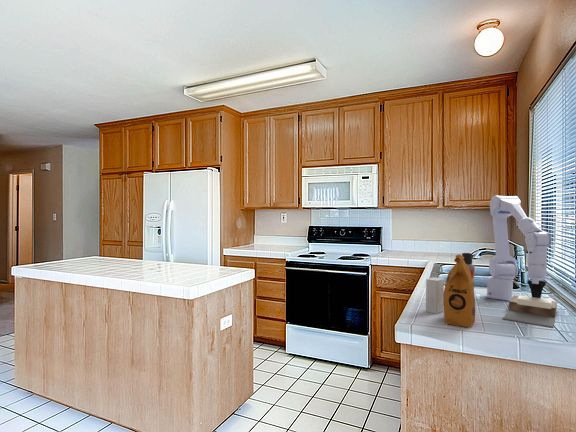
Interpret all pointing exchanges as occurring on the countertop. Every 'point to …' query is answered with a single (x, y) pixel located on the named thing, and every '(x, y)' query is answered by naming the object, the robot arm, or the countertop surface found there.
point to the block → (534, 302)
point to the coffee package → (459, 295)
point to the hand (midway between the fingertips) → (536, 300)
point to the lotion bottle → (469, 264)
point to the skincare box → (434, 295)
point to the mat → (530, 318)
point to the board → (532, 308)
